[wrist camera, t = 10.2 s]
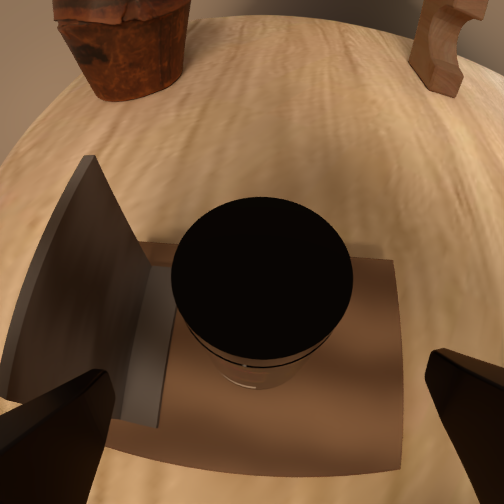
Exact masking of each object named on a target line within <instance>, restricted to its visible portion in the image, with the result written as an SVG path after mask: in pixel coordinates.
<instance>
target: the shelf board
mask: <svg viewBox="0 0 504 504" xmlns="http://www.w3.org/2000/svg"><path fill="white" fill-rule="evenodd" d="M178 245H179V244H167V243H153V242H139V241H138V240H137V239H136V237H135V235H134V233H133V231H132V229H131V227H130V225H129V224H128V222H127V220H126V218H125V216H124V214H123V212H122V210H121V208H120V206H119V204H118V202H117V200H116V198H115V196H114V194H113V192H112V190H111V188H110V186H109V184H108V182H107V180H106V178H105V176H104V173H103V171H102V169H101V167H100V165H99V163H98V161H97V158H96V156H95V155H86V156H83V158H82V159H81V161H80V163H79V165H78V166H77V168H76V170H75V172H74V173H73V175H72V177H71V179H70V181H69V182H68V184H67V186H66V188H65V190H64V192H63V194H62V195H61V197H60V199H59V201H58V203H57V205H56V207H55V209H54V211H53V213H52V216H51V218H50V220H49V222H48V224H47V226H46V228H45V231H44V233H43V235H42V237H41V240H40V242H39V244H38V247H37V249H36V251H35V254H34V256H33V259H32V261H31V264H30V266H29V269H28V272H27V274H26V277H25V280H24V283H23V285H22V288H21V291H20V294H19V297H18V300H17V303H16V306H15V310H14V313H13V316H12V320H11V323H10V327H9V330H8V334H7V338H6V342H5V346H4V350H3V354H2V359H1V363H0V397H2V398H4V399H6V400H9V401H13V402H17V403H21V404H24V403H26V402H28V401H30V400H32V399H34V398H36V397H38V396H40V395H42V394H44V393H46V392H48V391H50V390H52V389H54V388H56V387H58V386H60V385H62V384H64V383H66V382H68V381H70V380H72V379H74V378H76V377H78V376H80V375H82V374H83V373H85V372H87V371H89V370H91V369H94V368H95V369H105V370H106V371H108V373H109V375H110V378H111V382H112V385H113V388H114V391H115V395H116V400H115V405H114V409H113V413H112V418H111V422H110V426H109V431H108V436H107V440H106V444H105V447H108V448H112V449H115V450H118V451H122V452H125V453H129V454H132V455H136V456H140V457H144V458H148V459H152V460H156V461H160V462H165V463H170V464H175V465H180V466H185V467H191V468H196V469H203V470H209V471H217V472H224V473H233V474H243V475H256V476H273V477H330V476H347V475H359V474H369V473H378V472H385V471H392V470H399V469H400V468H401V455H402V438H403V356H402V339H401V325H400V314H399V304H398V294H397V286H396V278H395V271H394V264H393V260H383V259H370V258H357V257H350V259H351V263H352V268H353V289H352V295H351V299H350V302H349V305H348V307H347V310H346V312H345V314H344V316H343V317H342V319H341V321H340V322H339V323H338V325H337V326H336V327H335V329H334V330H333V332H332V333H331V335H330V336H329V337H328V339H327V340H326V341H325V342H324V343H323V344H322V345H321V346H320V347H319V348H318V349H317V350H316V351H315V352H314V354H313V355H312V356H311V357H310V359H309V360H308V361H307V362H306V363H305V365H304V366H303V367H302V368H301V369H300V370H299V372H298V373H297V374H296V375H295V376H294V377H293V378H291V379H290V380H289V381H287V382H286V383H284V384H282V385H280V386H277V387H274V388H270V389H264V390H253V389H247V388H243V387H240V386H237V385H235V384H233V383H231V382H230V381H228V380H227V379H226V378H224V377H223V376H222V375H221V374H220V373H219V372H218V370H217V369H216V368H215V366H214V365H213V363H212V362H211V360H210V359H209V357H208V355H207V354H206V352H205V351H204V349H203V348H202V346H201V345H200V343H199V342H198V341H197V340H196V338H195V337H194V336H193V335H192V333H191V332H190V330H189V328H188V327H187V325H186V323H185V321H184V319H183V317H182V315H181V314H180V312H179V310H178V308H177V305H176V303H175V300H174V297H173V292H172V287H171V268H172V262H173V258H174V255H175V252H176V249H177V247H178Z"/></svg>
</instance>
